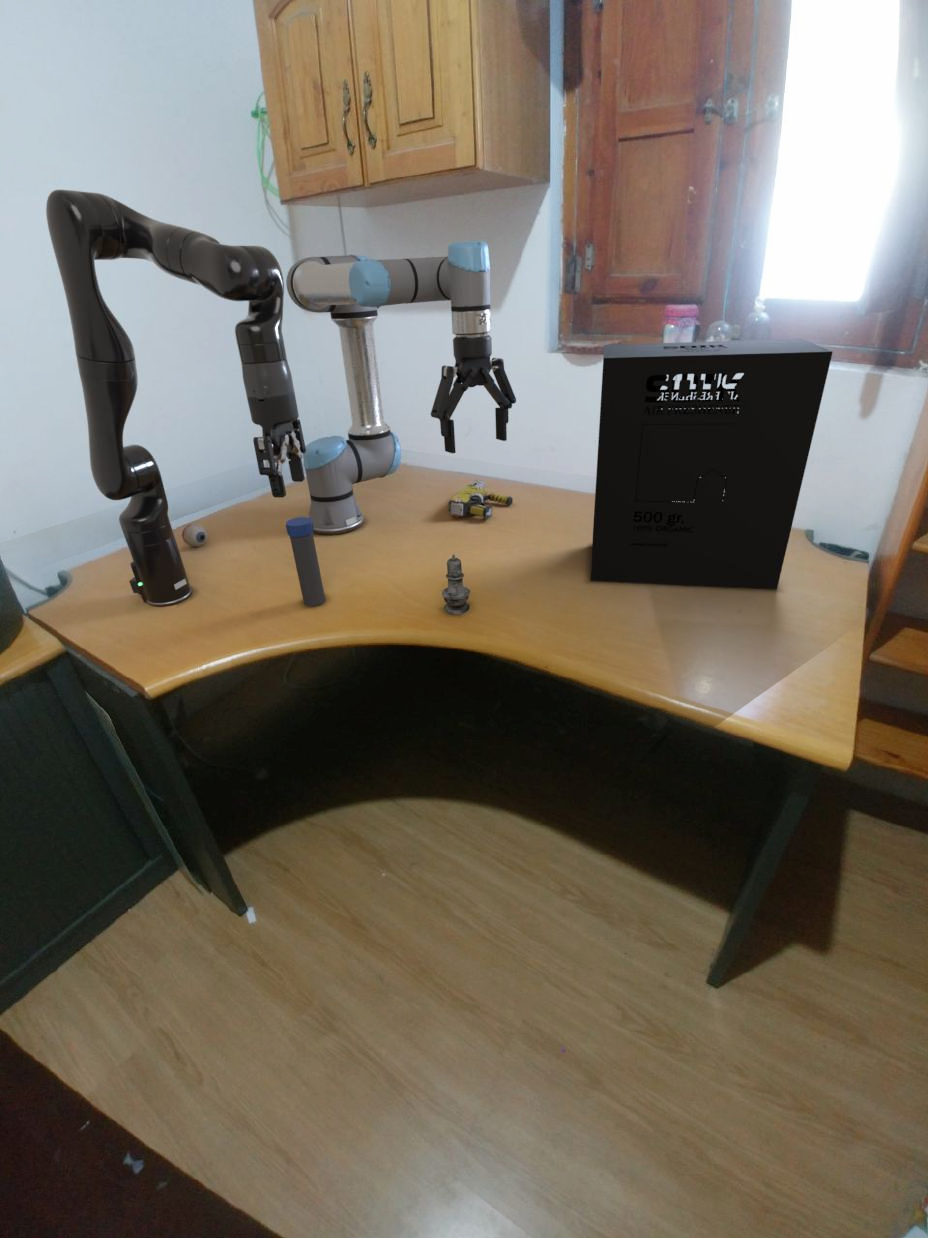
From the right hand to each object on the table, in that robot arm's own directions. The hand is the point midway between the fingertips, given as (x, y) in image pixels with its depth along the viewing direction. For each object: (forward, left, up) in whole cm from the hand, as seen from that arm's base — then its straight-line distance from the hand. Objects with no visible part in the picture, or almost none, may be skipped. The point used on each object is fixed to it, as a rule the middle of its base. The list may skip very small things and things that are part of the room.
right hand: (476, 445), depth 127 cm
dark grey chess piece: (+13, -16, -28) cm, 35 cm away
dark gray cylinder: (-10, -38, -28) cm, 48 cm away
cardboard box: (+30, +33, -28) cm, 52 cm away
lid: (-10, -38, -10) cm, 40 cm away
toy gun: (-31, +26, -28) cm, 49 cm away
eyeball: (-61, -48, -28) cm, 83 cm away
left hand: (+1, -42, +1) cm, 42 cm away
